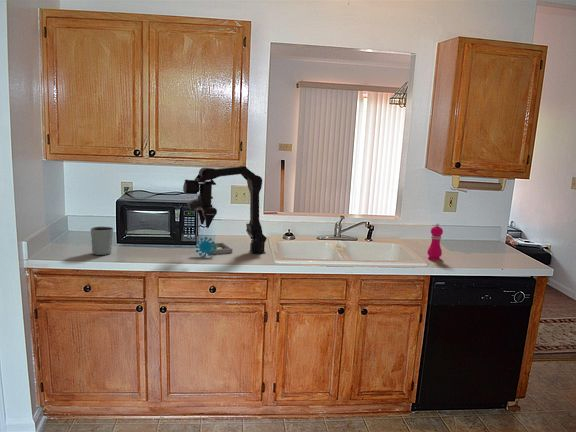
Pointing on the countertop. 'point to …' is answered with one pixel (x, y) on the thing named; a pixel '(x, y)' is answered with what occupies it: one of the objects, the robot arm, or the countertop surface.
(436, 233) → the pepper mill
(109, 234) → the grey cup
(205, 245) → the gear
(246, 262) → the countertop surface
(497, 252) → the countertop surface
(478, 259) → the countertop surface
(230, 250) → the tray
